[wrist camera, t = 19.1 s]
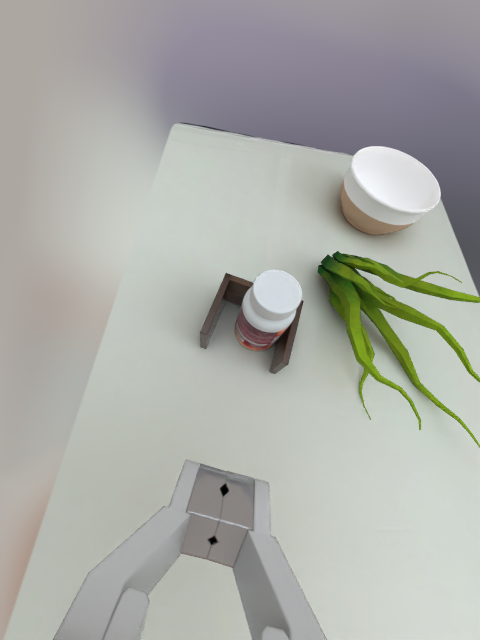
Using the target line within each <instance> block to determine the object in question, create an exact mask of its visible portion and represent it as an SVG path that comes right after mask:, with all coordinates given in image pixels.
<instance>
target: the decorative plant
mask: <svg viewBox="0 0 480 640" xmlns="http://www.w3.org/2000/svg"><path fill="white" fill-rule="evenodd" d="M332 256H333V258H334V259H335V260H336V261H337V262H336V261H335V260H334V259H333V258H332V257H331V256H329V255H327V256H326V257H325V258H324V259H323V260H322V261H321V263H322V265H319V267H318V273H319V274H320V275H321V276H322V277H324V278H325V279H326V280H327V282H328V284H329V287H330V302H331V304H332V305H333V307H334V308H335V310H336V311H337V312H338V313H339V315H340V316H341V317H342V318H343V319H344V321H345V322H346V327H347V333H348V336H349V339H350V342H351V345H352V348H353V351H354V354H355V357H356V360H357V361H358V362H359V363H360V364H361V365H362V366H363V367H364V373H363V375H362V378H361V381H360V386H359V393H360V396H361V399H362V403H363V406H364V401H363V396H362V386H363V383H364V381H365V379H366V377H367V375H368V373H370V374H371V375H372V376H373V377H374V378H375V379H376V380H377V381H379V382H381V383H383V384H385V385H387V386H390V387H392V388H394V389H396V390H398V391H399V392H400V393H401V394H402V395H403V396H404V397H405V398H406V399H407V400H408V401H409V403H410V405H411V407H412V409H413V411H414V412H415V414H416V416H417V418H418V420H419V430H421V419H420V417H419V415H418V412H417V410H416V408H415V406H414V403H413V401H412V400H411V399H410V397H409V396H408V395H407V394H406V392H405V391H404V390H403V389H402V388H401V387H399V386H398V385H396V384H394V383H393V382H391V381H389V380H387V379H386V378H384V377H382V376H381V375H380V373H379V372H378V371H377V369H376V368H375V366H374V365H373V363H372V361H373V358H374V355H375V354H374V351H373V348H372V346H371V343H370V340H369V338H368V335H367V332H366V330H365V328H364V327H363V325H362V324H361V317H360V309H361V310H362V311H363V312H364V313H365V314H366V315H367V316H368V317H369V319H370V320H371V321H372V322H373V323H374V324H375V326H376V327H377V328H378V330H379V331H380V333H381V334H382V336H383V337H384V339H385V340H386V342H387V343H388V345H389V346H390V348H391V349H392V351H393V353H394V354H395V356H396V357H397V359H398V360H399V362H400V363H401V365H402V367H403V368H404V370H405V371H406V373H407V374H408V376H409V377H410V379H411V381H412V382H413V384H414V385H415V386H416V387H417V388H418V389H419V390H420V391H421V392H422V393H423V394H424V395H425V396H426V397H428V398H429V399H430V400H431V401H432V402H433V403H434V404H435V405H436V406H438V407H439V408H440V409H442V410H443V411H445V412H446V413H447V414H449V415H450V416H452V417H453V418H454V419H456V420H457V421H458V422H459V423H460V424H461V425H462V426H463V427H464V428H465V429H466V430H467V431H468V433H469V434H470V435H471V437H472V438H473V439H474V441H475V442H476V443H477V445H478V446H479V447H480V445H479V443H478V442H477V440H476V439H475V437H474V435H473V434H472V433H471V431H470V430H469V429H468V428H467V426H466V425H465V424H464V423H463V421H462V420H461V419H460V418H459V417H457V416H456V415H455V414H454V413H453V412H451V411H450V410H449V409H448V408H447V407H445V406H444V405H443V404H442V403H441V402H439V401H438V400H437V399H436V398H435V397H434V396H433V395H432V394H431V393H430V392H429V391H428V390H427V389H426V388H425V387H424V386H423V385H422V384H421V383H420V381H419V378H418V376H417V373H416V371H415V368H414V366H413V363H412V361H411V358H410V356H409V353H408V351H407V349H406V348H405V347H404V345H403V344H402V342H401V341H400V340H399V338H398V337H397V335H396V334H395V333H394V331H393V330H392V328H391V327H390V326H389V324H388V322H387V321H386V319H385V318H384V316H383V314H382V313H381V311H380V310H379V308H380V309H383V310H385V311H387V312H389V313H391V314H393V315H395V316H397V317H399V318H401V319H404V320H407V321H410V322H413V323H416V324H419V325H422V326H425V327H427V328H430V329H433V330H436V331H437V332H438V333H439V334H440V335H441V336H442V337H443V338H444V339H445V341H446V342H447V343H448V344H449V345H450V346H451V347H452V348H453V349H454V350H455V352H456V353H457V355H458V356H459V358H460V360H461V361H462V363H463V364H464V366H465V368H466V369H467V371H468V372H469V374H471V375H472V376H473V377H474V378H475V379H476V380H477V381H479V382H480V378H479V377H478V376H477V375H476V373H475V372H474V371H473V369H472V367H471V365H470V363H469V361H468V358H467V356H466V354H465V352H464V350H463V348H462V347H461V346H460V345H459V343H458V342H457V341H456V340H455V339H454V338H453V336H452V335H451V334H450V333H449V332H448V330H447V329H446V328H445V327H444V326H443V325H441V324H439V323H438V322H436V321H434V320H433V319H431V318H429V317H427V316H426V315H424V314H422V313H420V312H419V311H417V310H415V309H414V308H412V307H410V306H408V305H405V304H403V303H401V302H398V301H396V299H395V298H394V297H392V296H390V295H388V294H386V293H385V292H384V291H382V290H381V289H380V288H378V287H375V286H374V285H373V284H372V283H371V282H369V281H368V280H367V279H366V278H364V277H363V276H361V275H360V274H359V272H358V271H357V270H356V269H359V270H362V271H365V272H368V273H371V274H374V275H377V276H379V277H380V278H382V279H383V280H384V281H387V282H389V283H391V284H394V285H396V286H399V287H403V288H407V289H410V290H413V291H416V292H420V293H424V294H428V295H432V296H436V297H440V298H445V299H449V300H456V301H465V302H474V303H480V297H476V296H472V295H468V294H465V293H461V292H457V291H453V290H450V289H447V288H443V287H440V286H437V285H434V284H431V283H427V282H424V281H421V279H423V278H425V277H426V276H428V275H429V274H434V273H440V274H444V275H448V274H445V273H442V272H439V271H437V272H428V273H426V274H424V275H422V276H420V277H418V278H416V279H415V278H412V277H409V276H405V275H402V274H399V273H397V272H395V271H394V270H393V269H391V268H390V267H388V266H387V265H384V264H381V263H378V262H376V261H373V260H371V259H369V258H362V257H358V256H354V255H348V254H341V253H339V252H338V251H337V252H336V253H334V254H333V255H332ZM355 268H356V269H355ZM448 276H450V275H448ZM451 277H453V276H451ZM453 278H454V277H453ZM454 279H456V278H454ZM456 280H458V279H456ZM458 281H459V280H458ZM459 282H461V281H459ZM461 283H462V282H461ZM386 296H387V297H386ZM389 297H390V298H389ZM391 298H392V299H391ZM364 408H365V406H364ZM365 410H366V408H365ZM366 412H367V410H366ZM367 414H368V412H367ZM368 416H369V414H368ZM369 418H370V416H369ZM370 420H371V418H370Z"/></svg>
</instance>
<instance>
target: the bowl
mask: <svg viewBox="0 0 480 640" xmlns="http://www.w3.org/2000/svg"><path fill="white" fill-rule="evenodd" d="M440 195H441V193H440V187H439V184H438V182H437V180H436V178H435V177H434V175H433V174H432V173H431V172H430V171H429V170H428V169H427V168H426V167H425V166H424V165H423V164H422V163H420V162H419V161H418V160H416V159H415V158H413V157H411V156H409V155H408V154H405V153H403V152H401V151H398V150H395V149H392V148H387V147H381V146H372V147H367V148H363V149H361V150H359V151H358V152H357V153H356V154H355V155H354V156H353V158H352V160H351V166H350V168H349V169H348V171H347V172H346V175H345V177H344V180H343V182H342V185H341V202H342V212H343V214H344V216H345V218H346V219H347V220H348V222H349V223H350V224H351V225H353V226H354V227H355V228H357V229H358V230H360V231H362V232H365V233H368V234H372V235H381V234H385V233H390V232H396V231H399V230H402V229H404V228H407V227H409V226H410V225H411V224H413V223H414V222H416V221H417V220H418V219H420V218H421V217H422V215H423V214H424V213H425V212H427V211H429V210H432V209H433V208H434V207H435V206H436V205H437V204H438V202H439V200H440Z"/></svg>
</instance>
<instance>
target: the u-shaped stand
mask: <svg viewBox="0 0 480 640" xmlns="http://www.w3.org/2000/svg"><path fill="white" fill-rule="evenodd" d="M252 286H253V283H252V282H250V281H247V280H244V279H241V278H239V277H236V276H233V275H230V274H228V273H226V274H225V276H224V279H223V281H222V283H221V286H220V288H219V290H218V293H217V295H216V297H215V300H214V302H213V304H212V307H211V309H210V311H209V314H208V316H207V318H206V320H205V323H204V325H203V327H202V330H201V332H200V346H201V347H202V348H204V349H206V348H207V345H208V343H209V340H210V338H211V335H212V333H213V330H214V328H215V326H216V323H217V321H218V318H219V316H220V313H221V311H222V308H223V306H224V303H225V301H226V300H227V301H230V302H233V303H236V304H238V305H242V302H243V299H244V296H245V294H246V292H247V291H248V290H249V289H250V288H251V287H252ZM302 305H303V301H302V300H301V302H300V304H299V306H298V307H297V309H296V314H295V317H294V319H293V321H292V323H291V324H290V325H289V327H288V328H287V329H286V330H285V331H284V332H283V334H282V335H281V336H280V337H279V339H278V343H277V346H276V350H275V354H274V357H273V361H272V365H271V368H270V372H271V373H274V374H275V373H277V372H278V371H280V370H281V369H282V368H284V367H285V366H287V365H288V363H289V359H290V355H291V351H292V346H293V342H294V338H295V334H296V330H297V326H298V322H299V318H300V313H301V309H302Z"/></svg>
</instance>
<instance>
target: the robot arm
mask: <svg viewBox="0 0 480 640" xmlns="http://www.w3.org/2000/svg"><path fill="white" fill-rule="evenodd" d="M199 465H200V466H199ZM180 553H182V554H186V555H190V556H195V557H199V558H203V559H207V560H210V561H213V562H216V563H220V564H223V565H226V566H229V567H232V568H233V572H234V576H235V580H236V583H237V587H238V590H239V594H240V597H241V601H242V604H243V608H244V612H245V615H246V619H247V622H248V626H249V629H250V633H251V636H252V640H327V639H326V637H325V635H324V633H323V631H322V629H321V627H320V625H319V623H318V621H317V619H316V617H315V615H314V613H313V611H312V609H311V607H310V605H309V603H308V601H307V599H306V597H305V595H304V593H303V591H302V589H301V587H300V585H299V583H298V581H297V579H296V577H295V575H294V573H293V571H292V569H291V567H290V565H289V563H288V561H287V559H286V557H285V555H284V553H283V551H282V549H281V547H280V545H279V543H278V541H277V539H276V537H273V536H271V523H270V489H269V483H268V482H265V481H262V480H258V479H255V478H252V477H248V476H244V475H240V474H237V473H233V472H229V471H227V472H226V471H223V470H220V469H217V468H213V467H210V466H207V465H204V464H200V463H197V462H193V461H190V460H186V461H185V463H184V465H183V468H182V471H181V473H180V476H179V479H178V482H177V485H176V487H175V490H174V493H173V496H172V499H171V501H170V504H169V507H163V508H162V509H160V510H159V511H158V512H157V513H156V514H155V515H154V516H152V517H151V518H150V519H149V520H148V521H147V522H146V523H145V524H143V525H142V526H141V527H140V528H139V529H138V530H137V531H135V532H134V533H133V534H132V535H131V536H130V537H129V538H127V539H126V540H125V541H124V542H123V543H122V544H121V545H120V546H118V547H117V548H116V549H115V550H114V551H113V552H112V553H110V554H109V555H108V556H107V557H106V558H105V559H104V560H103V561H101V562H100V563H99V564H98V565H97V566H96V567H95V568H93V569H92V570H91V571H90V572H89V573H88V575H87V577H86V578H85V580H84V582H83V584H82V586H81V588H80V590H79V592H78V593H77V595H76V597H75V599H74V601H73V603H72V605H71V607H70V608H69V610H68V612H67V614H66V616H65V618H64V620H63V622H62V624H61V625H60V627H59V629H58V631H57V633H56V635H55V637H54V639H53V640H140V639H141V635H142V631H143V626H144V622H145V618H146V614H147V609H148V605H149V601H150V600H149V598H148V594H149V593H150V592H151V591H152V589H153V588H154V587H155V586H156V584H157V583H158V582H159V581H160V579H161V578H162V577H163V576H164V574H165V573H166V572H167V571H168V569H169V568H170V567H171V566H172V564H173V563H174V562H175V561H176V559H177V558H178V557H179V556H180Z"/></svg>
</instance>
